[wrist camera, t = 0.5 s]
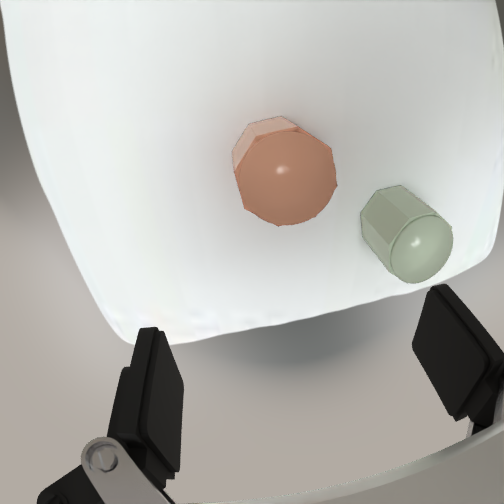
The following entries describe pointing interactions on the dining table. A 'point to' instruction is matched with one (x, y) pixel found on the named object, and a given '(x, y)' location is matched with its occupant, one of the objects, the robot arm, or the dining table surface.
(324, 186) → the peach octagonal canister
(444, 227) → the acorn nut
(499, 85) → the dining table surface
